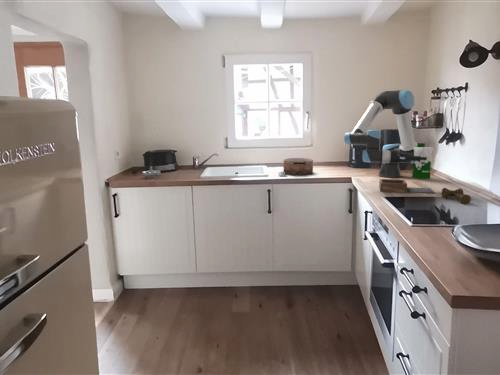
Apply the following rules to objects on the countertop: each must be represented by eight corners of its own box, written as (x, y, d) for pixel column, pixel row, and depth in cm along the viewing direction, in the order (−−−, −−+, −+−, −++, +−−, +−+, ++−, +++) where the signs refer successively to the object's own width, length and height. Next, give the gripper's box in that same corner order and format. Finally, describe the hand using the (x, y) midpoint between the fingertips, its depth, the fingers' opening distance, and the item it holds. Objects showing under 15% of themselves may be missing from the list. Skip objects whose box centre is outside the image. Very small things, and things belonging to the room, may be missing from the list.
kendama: (456, 205, 193) (437, 195, 212) (475, 205, 193) (454, 196, 212) (457, 193, 192) (438, 185, 211) (476, 194, 192) (456, 185, 211)
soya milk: (422, 176, 230) (424, 142, 226) (432, 178, 221) (435, 144, 217) (409, 177, 227) (412, 143, 224) (420, 179, 219) (422, 144, 215)
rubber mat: (407, 188, 234) (407, 187, 234) (430, 189, 230) (430, 188, 230) (409, 192, 222) (409, 191, 221) (434, 193, 218) (434, 192, 218)
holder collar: (379, 186, 239) (379, 178, 238) (403, 187, 235) (404, 179, 234) (380, 191, 225) (380, 183, 224) (406, 192, 221) (407, 184, 220)
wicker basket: (315, 176, 281) (315, 161, 279) (284, 176, 282) (284, 161, 280) (310, 170, 311) (310, 157, 309) (282, 170, 312) (282, 157, 310)
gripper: (388, 160, 238) (427, 162, 232) (390, 165, 217) (434, 166, 211) (388, 148, 237) (428, 149, 231) (391, 152, 216) (435, 153, 210)
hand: (431, 157), depth 221 cm, fingers closed on soya milk, 9 cm apart
